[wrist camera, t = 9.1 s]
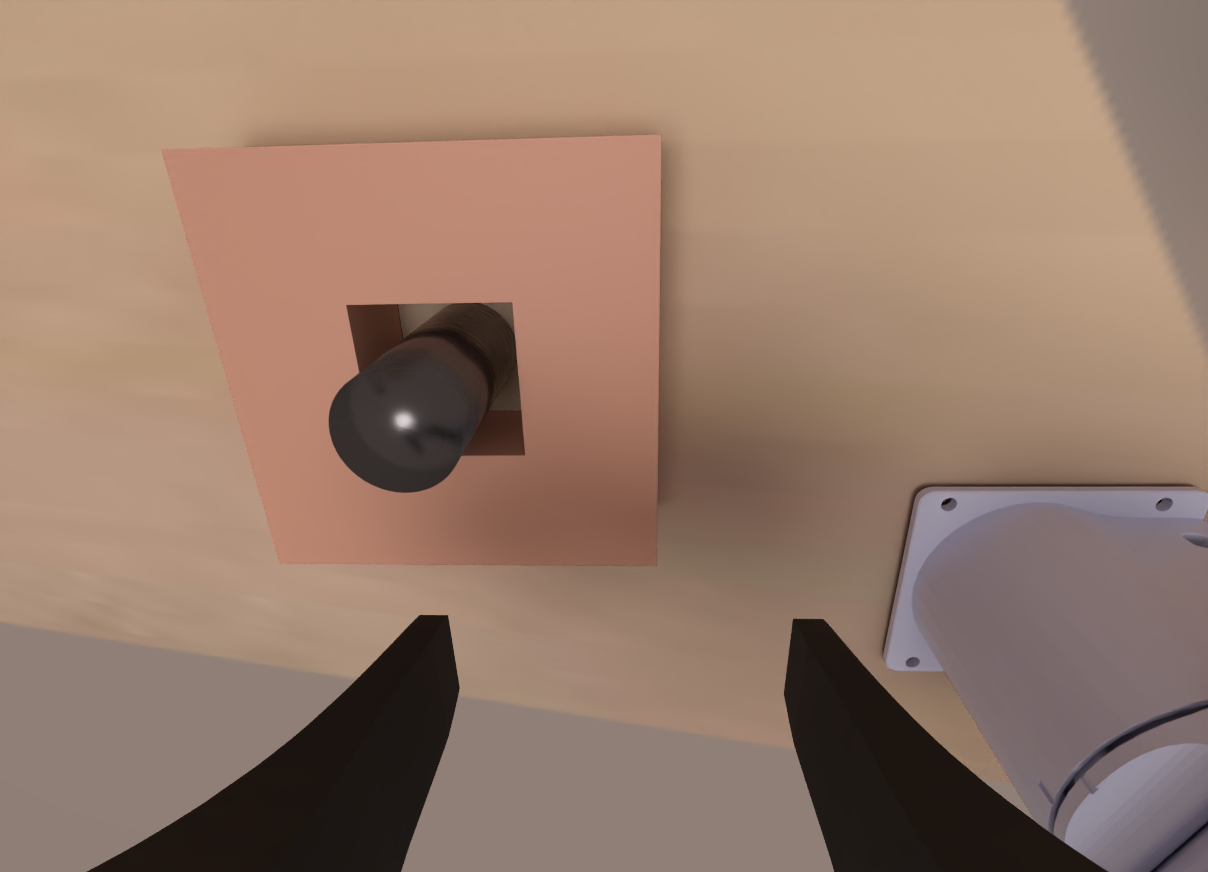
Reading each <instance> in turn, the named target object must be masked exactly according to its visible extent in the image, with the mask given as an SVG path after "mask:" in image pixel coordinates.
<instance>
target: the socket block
mask: <svg viewBox="0 0 1208 872" xmlns="http://www.w3.org/2000/svg"><path fill="white" fill-rule="evenodd" d="M161 151H162V154H163V158H164V161H165V165H166V168H167V172H168V175H169V179H170V182H171V186H172V189H173V193H174V196H175V200H176V203H177V207H178V210H179V214H180V217H181V221H182V224H183V228H184V231H185V235H186V238H187V242H188V245H189V249H190V252H191V256H192V259H193V263H194V266H195V270H196V273H197V277H198V280H199V284H200V287H201V291H202V294H203V298H204V301H205V305H206V308H207V312H208V315H209V318H210V322H211V325H212V329H213V332H214V336H215V339H216V343H217V346H218V350H219V353H220V357H221V360H222V364H223V367H224V371H225V374H226V378H227V381H228V385H229V388H230V392H231V395H232V399H233V402H234V406H235V409H236V413H237V416H238V420H239V423H240V427H241V430H242V434H243V437H244V441H245V444H246V448H247V451H248V455H249V458H250V462H251V465H252V469H253V472H254V476H255V479H256V483H257V486H258V490H259V493H260V497H261V500H262V504H263V507H264V511H265V514H266V518H267V521H268V525H269V528H270V532H271V535H272V538H273V542H274V545H275V549H276V552H277V556H278V559H279V563H280V564H404V565H575V566H657V502H658V407H659V311H660V216H661V134H657V135H625V136H592V137H559V138H526V139H494V140H461V141H428V142H395V143H363V144H330V145H297V146H264V147H232V148H199V149H166V150H161ZM494 302H512V306H513V317H514V329H515V341H516V352H517V364H518V376H519V387H520V399H521V411H488V412H487V413H486V415H485V417H484V418H483V420H482V422H481V424H480V425H479V427H478V429H477V430H476V432H475V434H474V436H473V437H472V439H471V441H470V442H469V444H468V446H467V447H466V449H465V451H464V453H463V454H462V456H461V458H460V459H459V461H458V463H457V465H456V466H455V468H454V470H453V471H452V472H451V473H450V475H449V476H448V477H447V478H446V479H444V480H443V481H442V482H441V483H439V484H437V485H436V486H434V487H432V488H430V489H426V490H423V491H419V492H412V493H399V492H392V491H387V490H384V489H381V488H378V487H376V486H373V485H371V484H369V483H368V482H366V481H364V480H363V479H361V478H360V477H358V476H357V475H356V474H355V473H353V472H352V471H351V470H350V469H349V468H348V467H347V466H346V465H345V463H344V462H343V461H342V459H341V458H340V457H339V455H338V453H337V452H336V450H335V448H334V445H333V443H332V440H331V437H330V432H329V411H330V407H331V404H332V402H333V399H334V397H335V396H336V394H337V393H338V391H339V390H340V389H341V388H342V387H343V386H344V384H346V383H347V382H348V381H349V380H351V379H352V378H353V377H355V376H356V375H357V374H359V373H360V372H361V371H362V370H364V369H365V368H366V367H368V366H369V365H370V364H372V363H373V362H374V361H375V360H377V359H378V358H379V357H381V356H382V355H383V354H385V353H386V352H387V351H388V350H390V349H391V348H392V347H394V346H395V345H396V344H398V343H399V342H400V341H402V340H403V337H402V330H401V324H400V318H399V312H398V306H397V304H433V303H494Z"/></svg>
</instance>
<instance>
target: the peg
mask: <svg viewBox="0 0 1208 872" xmlns="http://www.w3.org/2000/svg"><path fill="white" fill-rule="evenodd" d="M516 354H517V352H516V341H515V338H514V335H513V332H512V330H511V328H510V327H509V325H508V324H507V322H506V321H505V320H504V319H503V318H502V317H501V316H500V315H499V314H498V313H497V312H496V311H494V310H492V309H491V308H489V307H487V306H485V305H482V304H479V303H454V304H451V305H449V306H447V307H445V308H443V309H442V310H441V311H439V312H438V313H437V314H435V315H434V316H433V317H431V318H430V319H429V320H428V321H426V322H425V323H424V324H422V325H421V326H420V327H418V328H417V329H416V330H415V331H413V332H412V333H411V334H409V335H408V336H407V337H405V338H404V339H403V340H402V341H400V342H399V343H398V344H396V345H395V346H394V347H392V348H391V349H390V350H388V351H387V352H386V353H385V354H383V355H382V356H381V357H379V358H378V359H377V360H375V361H374V362H373V363H372V364H370V365H369V366H368V367H366V368H365V369H364V370H362V371H361V372H360V373H359V374H357V375H356V376H355V377H353V378H352V379H351V380H349V381H348V382H347V383H346V384H344V386H343V387H342V388H341V389H340V390H339V391H338V393H337V394H336V396H335V397H334V399H333V402H332V404H331V407H330V411H329V432H330V437H331V440H332V443H333V445H334V448H335V450H336V452H337V453H338V455H339V457H340V458H341V459H342V461H343V462H344V463H345V465H346V466H347V467H348V468H349V469H350V470H351V471H352V472H353V473H355V474H356V475H357V476H358V477H360V478H361V479H363V480H364V481H366V482H368V483H369V484H371V485H373V486H376V487H378V488H381V489H384V490H387V491H392V492H399V493H412V492H419V491H423V490H426V489H430V488H432V487H434V486H436V485H437V484H439V483H441V482H442V481H443V480H444V479H446V478H447V477H448V476H449V475H450V473H451V472H452V471H453V470H454V468H455V466H456V465H457V463H458V461H459V459H460V458H461V456H462V454H463V453H464V451H465V449H466V447H467V446H468V444H469V442H470V441H471V439H472V437H473V436H474V434H475V432H476V430H477V429H478V427H479V425H480V424H481V422H482V420H483V418H484V417H485V415H486V413H487V412H488V410H489V408H490V407H491V405H492V403H493V401H494V400H495V398H496V396H497V395H498V393H499V391H500V390H501V388H502V386H503V384H504V383H505V381H506V379H507V378H508V376H509V374H510V372H511V371H512V369H513V367H514V364H515V360H516Z"/></svg>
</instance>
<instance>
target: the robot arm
mask: <svg viewBox="0 0 1208 872" xmlns="http://www.w3.org/2000/svg"><path fill="white" fill-rule="evenodd" d="M947 498H952V499H951V501H950V502H949V503H948V504H947V505H941V504H942V502H943V501H944V500H945V499H947ZM1161 499H1163V500H1162V501H1161V503H1159V504H1157V502H1158V501H1160V500H1161ZM1156 504H1157V505H1156ZM1207 510H1208V493H1206V492H1205V491H1203V490H1201V489H1200V488H1198V487H928V488H925V489H923V490H921V491H920V492H919V493H918V494H917V495H916V498H915V500H914V505H913V510H912V515H911V520H910V525H909V530H908V535H907V540H906V545H905V550H904V555H903V559H902V564H901V569H900V574H899V579H898V584H897V589H896V594H895V599H894V604H893V609H892V614H891V619H890V623H889V628H888V633H887V638H886V643H885V648H884V653H883V660H884V662H885V664H886V665H887V667H888V668H889V669H891V670H894V671H932V672H945V674H946V675H947V677H948V679H949V680H950V682H951V684H952V685H953V687H954V689H955V690H956V692H957V694H958V695H959V697H960V698H961V700H962V702H963V703H964V705H965V707H966V708H967V710H968V712H969V713H970V715H971V717H972V718H973V720H974V722H975V723H976V725H977V726H978V728H979V730H980V731H981V733H982V735H983V736H984V738H985V740H986V741H987V743H988V745H989V746H990V748H991V750H992V751H993V753H994V754H995V756H996V758H997V759H998V761H999V763H1000V764H1001V766H1002V768H1003V769H1004V771H1005V773H1006V774H1007V776H1008V778H1009V779H1010V781H1011V782H1012V784H1013V786H1014V787H1015V789H1016V791H1017V792H1018V794H1019V796H1020V797H1021V799H1022V800H1023V802H1024V804H1025V805H1026V807H1027V808H1028V811H1029V812H1030V814H1031V815H1032V817H1033V819H1034V820H1035V821H1034V820H1032V819H1031V818H1030V817H1028V816H1027V815H1026V814H1024V813H1023V812H1022V811H1020V810H1019V809H1018V808H1016V807H1015V806H1014V805H1012V804H1011V803H1010V802H1008V801H1007V800H1006V799H1004V798H1003V797H1002V796H1001V795H999V794H998V793H997V792H996V791H994V790H993V789H992V788H991V787H989V786H988V785H987V784H986V783H984V782H983V781H982V780H981V779H980V778H978V777H977V776H976V775H975V774H974V773H973V772H971V771H970V770H969V769H968V768H967V767H966V766H964V765H963V764H962V763H961V762H960V761H958V760H957V759H956V758H955V757H954V756H953V755H951V754H950V753H949V752H948V751H947V750H946V749H945V748H944V747H943V746H942V745H940V744H939V743H938V742H937V741H936V740H935V739H934V738H933V737H932V736H931V735H930V734H929V733H928V732H927V731H926V730H925V729H924V728H923V727H922V726H921V725H920V724H919V723H917V722H916V721H915V720H914V719H913V718H912V717H911V716H910V715H909V714H908V712H907V711H906V710H905V709H904V708H903V707H902V706H901V705H900V704H899V703H898V702H897V701H896V700H895V699H894V698H893V697H892V696H891V695H890V694H889V693H888V692H887V690H886V689H885V688H884V687H883V686H882V685H881V684H880V683H879V682H878V681H877V680H876V679H875V678H874V676H873V675H872V674H871V673H870V672H869V671H868V670H867V669H866V668H865V666H864V665H863V664H862V663H861V662H860V661H859V660H858V658H857V657H856V656H855V655H854V654H853V653H852V651H851V650H850V649H849V648H848V647H847V646H846V644H845V643H844V642H843V641H842V640H841V639H840V637H839V636H838V635H837V634H836V633H835V632H834V630H833V629H832V628H831V627H830V626H829V624H828V623H827V622H826V621H825V620H824V619H793V624H792V632H791V640H790V648H789V657H788V665H787V673H786V681H785V689H784V696H785V702H786V707H787V712H788V718H789V723H790V727H791V732H792V737H793V742H794V746H795V749H796V752H797V755H798V758H799V761H800V765H801V768H802V771H803V774H804V777H805V781H806V783H807V786H808V790H809V793H810V796H811V799H812V802H813V805H814V808H815V812H816V815H817V818H818V821H819V824H820V827H821V830H822V833H823V836H824V839H825V843H826V846H827V849H828V852H829V855H830V858H831V861H832V865H833V869H834V872H1208V522H1206V521H1205V520H1204V517H1205V515H1206V513H1207ZM911 657H914V658H913V659H911V660H907V659H909V658H911ZM459 689H460V687H459V681H458V675H457V669H456V662H455V656H454V650H453V644H452V638H451V631H450V625H449V619H448V615H419V616H418V617H417V618H416V619H415V620H414V621H413V622H412V623H411V624H410V625H409V626H408V627H407V628H406V629H405V630H404V632H403V633H402V634H401V635H400V636H399V637H398V638H397V639H396V640H395V641H394V642H393V643H392V644H391V645H390V646H389V647H388V648H387V649H386V650H385V651H384V652H383V653H382V654H381V656H380V657H379V658H378V659H377V660H376V661H375V662H374V663H373V664H372V665H371V666H370V667H369V668H368V669H367V670H366V671H365V672H364V673H363V674H362V675H361V676H360V677H359V678H358V679H357V680H356V681H355V682H354V683H353V684H352V685H351V686H350V687H349V688H348V689H347V690H346V691H345V692H343V693H342V694H341V695H340V696H339V697H338V698H337V699H336V700H335V701H334V702H333V703H332V704H331V705H329V706H328V707H327V708H326V709H325V710H324V711H323V712H322V713H321V714H319V715H318V717H316V718H315V719H314V720H313V721H312V722H311V723H310V724H308V725H307V726H306V727H305V728H304V729H303V730H302V731H300V732H299V733H298V734H297V735H296V736H294V737H293V738H292V739H291V740H290V741H288V742H287V743H286V744H285V745H284V746H282V747H281V748H279V749H278V750H277V751H276V752H274V753H273V754H272V755H271V756H269V757H268V758H267V759H265V760H264V761H263V762H261V763H260V764H259V765H257V766H256V767H255V768H253V769H252V770H250V771H249V772H248V773H246V774H245V775H243V776H242V777H240V778H239V779H238V780H236V781H235V782H233V783H232V784H230V785H229V786H228V787H226V788H225V789H223V790H222V791H220V792H219V793H218V794H216V795H215V796H213V797H212V798H210V799H209V800H208V801H206V802H205V803H203V804H202V805H200V806H199V807H197V808H196V809H194V810H192V811H191V812H189V813H188V814H186V815H184V816H183V817H181V818H180V819H178V820H177V821H175V822H173V823H172V824H170V825H169V826H167V827H165V828H163V829H162V830H160V831H159V832H157V833H155V834H154V835H152V836H150V837H149V838H147V839H145V840H144V841H142V842H140V843H138V844H137V845H135V846H133V847H131V848H130V849H128V850H126V851H124V852H123V853H121V854H119V855H117V856H115V857H113V858H111V859H110V860H108V861H106V862H104V863H102V864H101V865H99V866H97V867H95V868H93V869H91V870H89V871H87V872H401V870H402V867H403V864H404V860H405V857H406V854H407V851H408V848H409V845H410V842H411V839H412V837H413V834H414V831H415V828H416V826H417V823H418V820H419V817H420V815H421V811H422V809H423V806H424V804H425V801H426V798H427V795H428V793H429V790H430V787H431V784H432V781H433V779H434V776H435V773H436V770H437V767H438V765H439V762H440V759H441V756H442V753H443V751H444V748H445V745H446V742H447V739H448V736H449V732H450V728H451V724H452V720H453V716H454V712H455V707H456V702H457V698H458V693H459Z"/></svg>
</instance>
